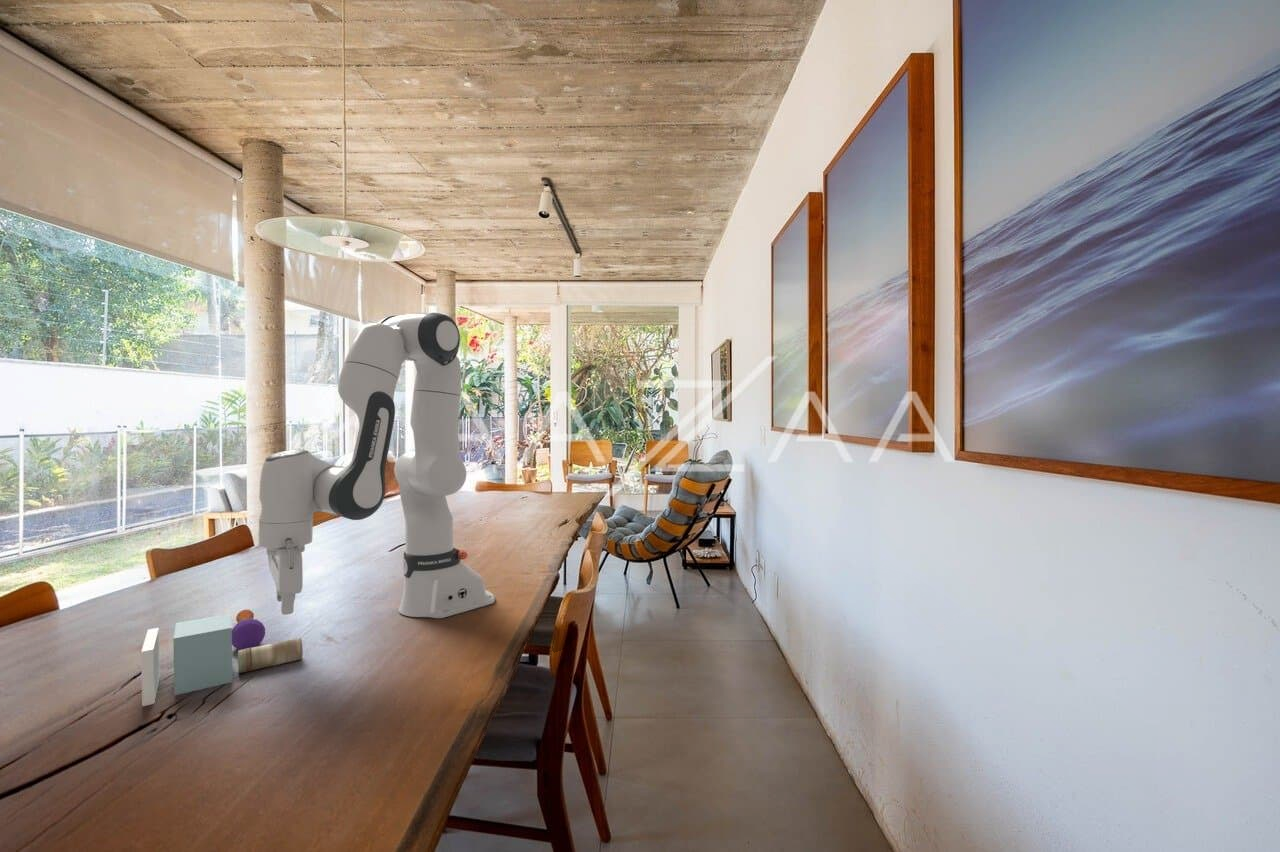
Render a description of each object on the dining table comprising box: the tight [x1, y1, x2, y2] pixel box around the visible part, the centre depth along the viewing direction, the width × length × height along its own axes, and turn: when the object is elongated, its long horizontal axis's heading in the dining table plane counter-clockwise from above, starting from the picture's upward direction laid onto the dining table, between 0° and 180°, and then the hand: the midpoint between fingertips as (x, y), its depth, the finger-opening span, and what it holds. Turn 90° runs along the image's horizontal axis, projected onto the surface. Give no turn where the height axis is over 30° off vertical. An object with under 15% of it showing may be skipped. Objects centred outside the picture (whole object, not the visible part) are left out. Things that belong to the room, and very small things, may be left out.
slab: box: [140, 627, 161, 707], centre depth 98 cm, size 2×12×9 cm, turn 37°
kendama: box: [232, 609, 266, 650], centre depth 122 cm, size 6×6×20 cm
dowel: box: [237, 637, 304, 674], centre depth 108 cm, size 10×4×4 cm, turn 127°
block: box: [172, 613, 233, 696], centre depth 102 cm, size 8×9×10 cm
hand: (284, 606), depth 109 cm, fingers open, 8 cm apart
